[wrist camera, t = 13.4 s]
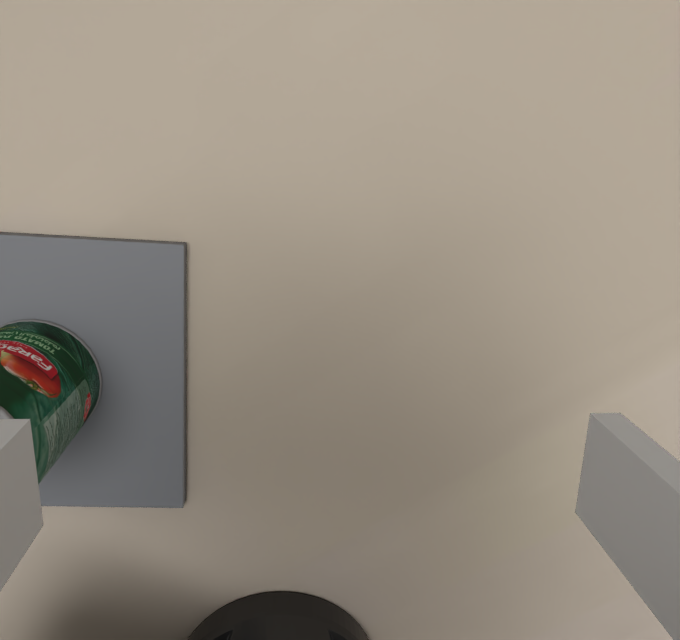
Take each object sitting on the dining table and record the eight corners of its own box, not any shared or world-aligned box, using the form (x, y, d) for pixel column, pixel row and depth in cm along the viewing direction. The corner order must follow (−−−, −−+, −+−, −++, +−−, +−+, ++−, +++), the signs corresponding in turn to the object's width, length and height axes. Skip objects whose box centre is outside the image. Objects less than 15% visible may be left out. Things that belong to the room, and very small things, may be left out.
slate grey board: (185, 499, 42) (183, 508, 41) (-90, 495, 41) (-99, 503, 40) (186, 242, 38) (183, 244, 37) (-125, 225, 36) (-136, 226, 35)
